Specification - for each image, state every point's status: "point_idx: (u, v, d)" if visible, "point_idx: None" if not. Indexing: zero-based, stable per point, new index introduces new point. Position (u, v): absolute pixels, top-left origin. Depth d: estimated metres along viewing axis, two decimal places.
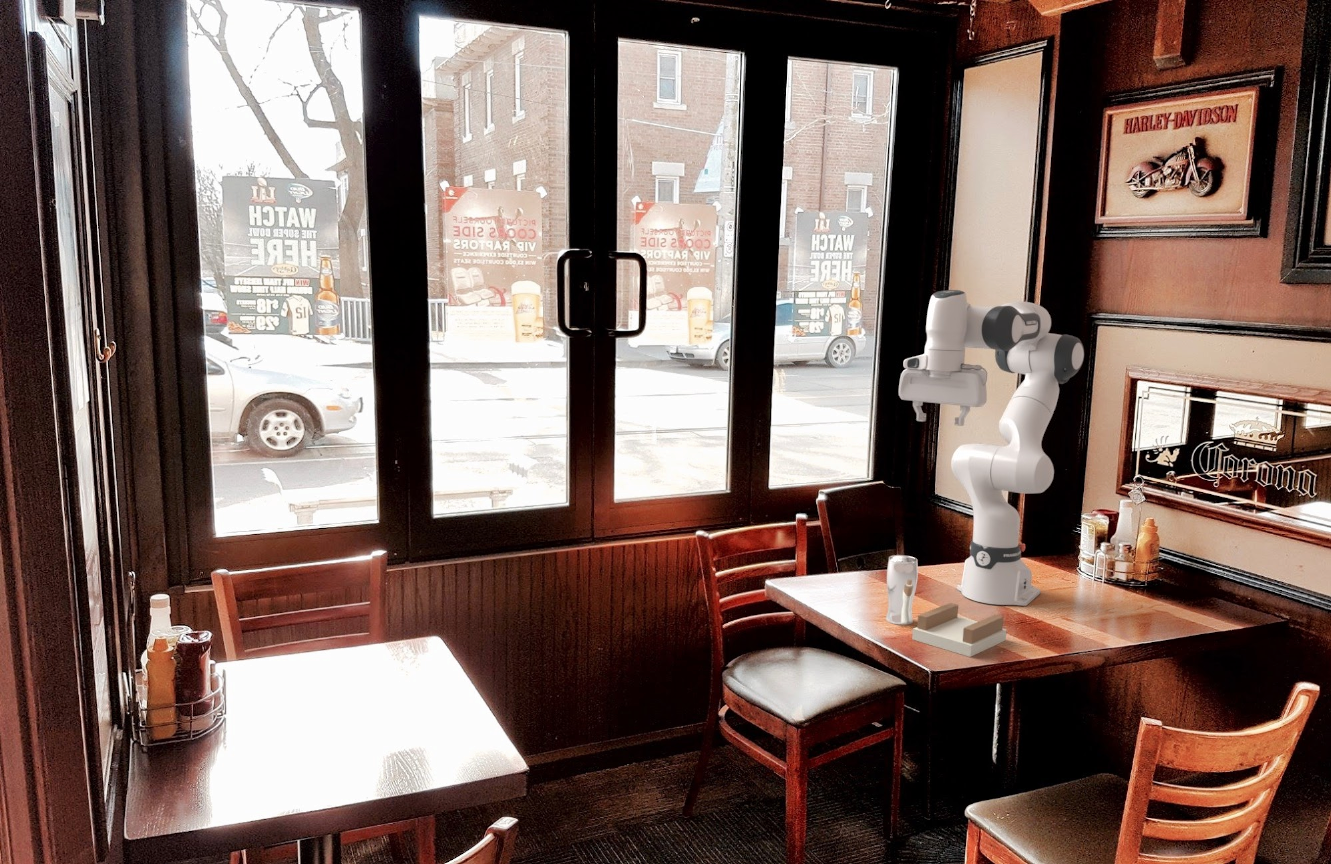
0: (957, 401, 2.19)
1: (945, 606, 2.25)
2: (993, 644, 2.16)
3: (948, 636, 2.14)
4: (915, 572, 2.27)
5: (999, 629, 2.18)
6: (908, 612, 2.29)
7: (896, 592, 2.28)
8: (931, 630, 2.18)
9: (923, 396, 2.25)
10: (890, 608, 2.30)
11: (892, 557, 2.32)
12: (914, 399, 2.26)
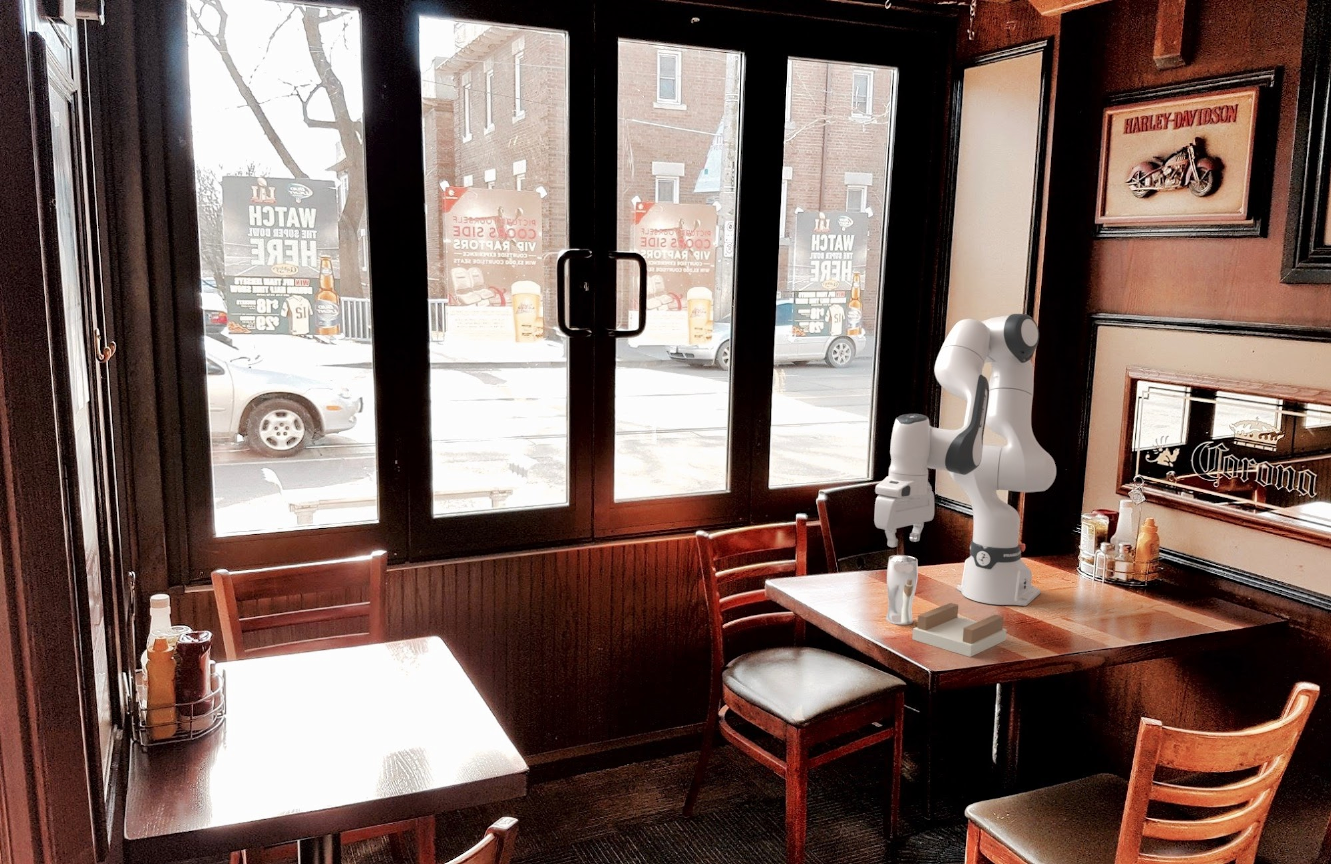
0: (923, 519, 2.30)
1: (945, 606, 2.25)
2: (993, 644, 2.16)
3: (948, 636, 2.14)
4: (915, 572, 2.27)
5: (999, 629, 2.18)
6: (908, 612, 2.29)
7: (896, 592, 2.28)
8: (931, 630, 2.18)
9: (903, 521, 2.24)
10: (890, 608, 2.30)
11: (892, 557, 2.32)
12: (897, 526, 2.23)
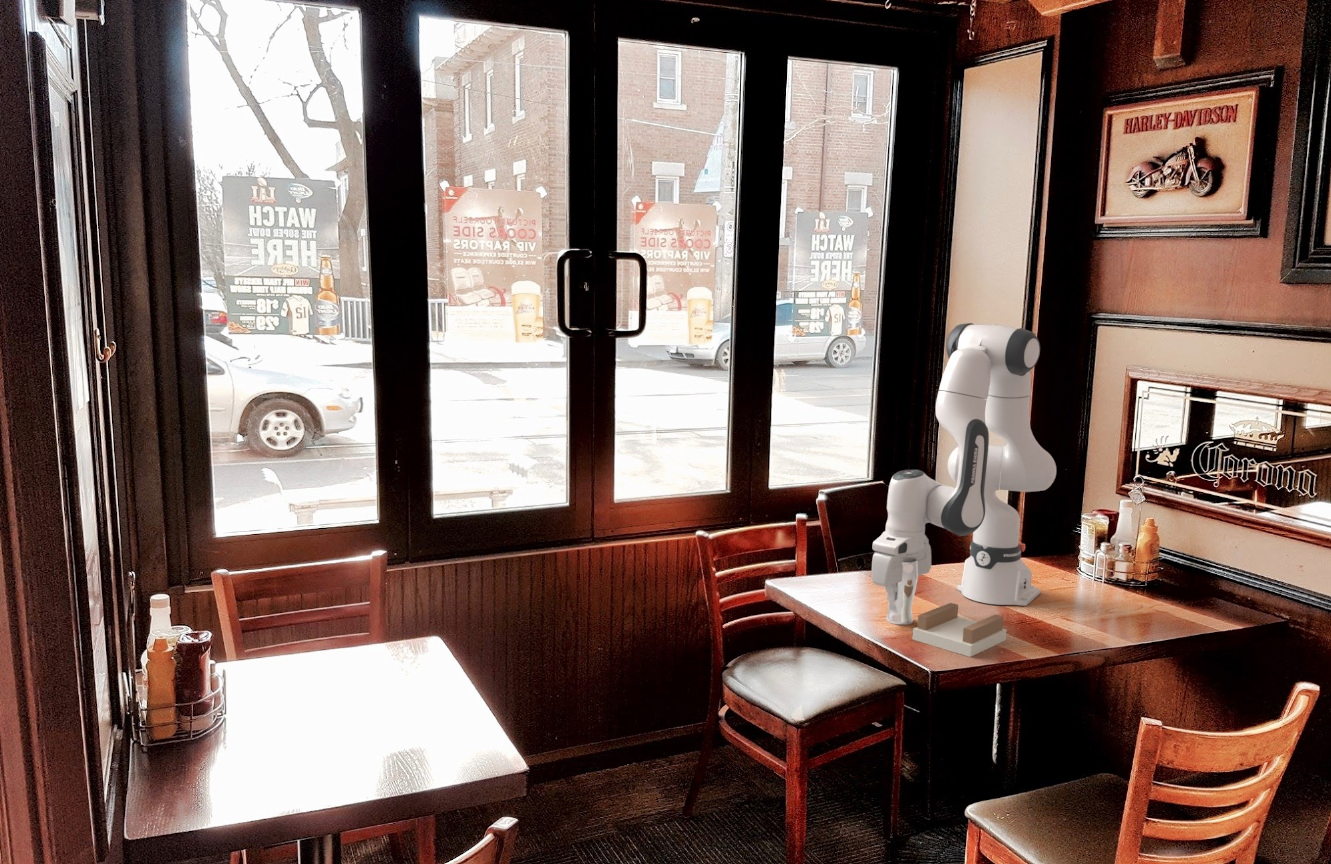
0: (920, 572, 2.32)
1: (945, 606, 2.25)
2: (993, 644, 2.16)
3: (948, 636, 2.14)
4: (915, 572, 2.27)
5: (999, 629, 2.18)
6: (908, 612, 2.29)
7: (896, 592, 2.28)
8: (931, 630, 2.18)
9: (900, 577, 2.26)
10: (890, 608, 2.30)
11: None
12: (894, 583, 2.25)
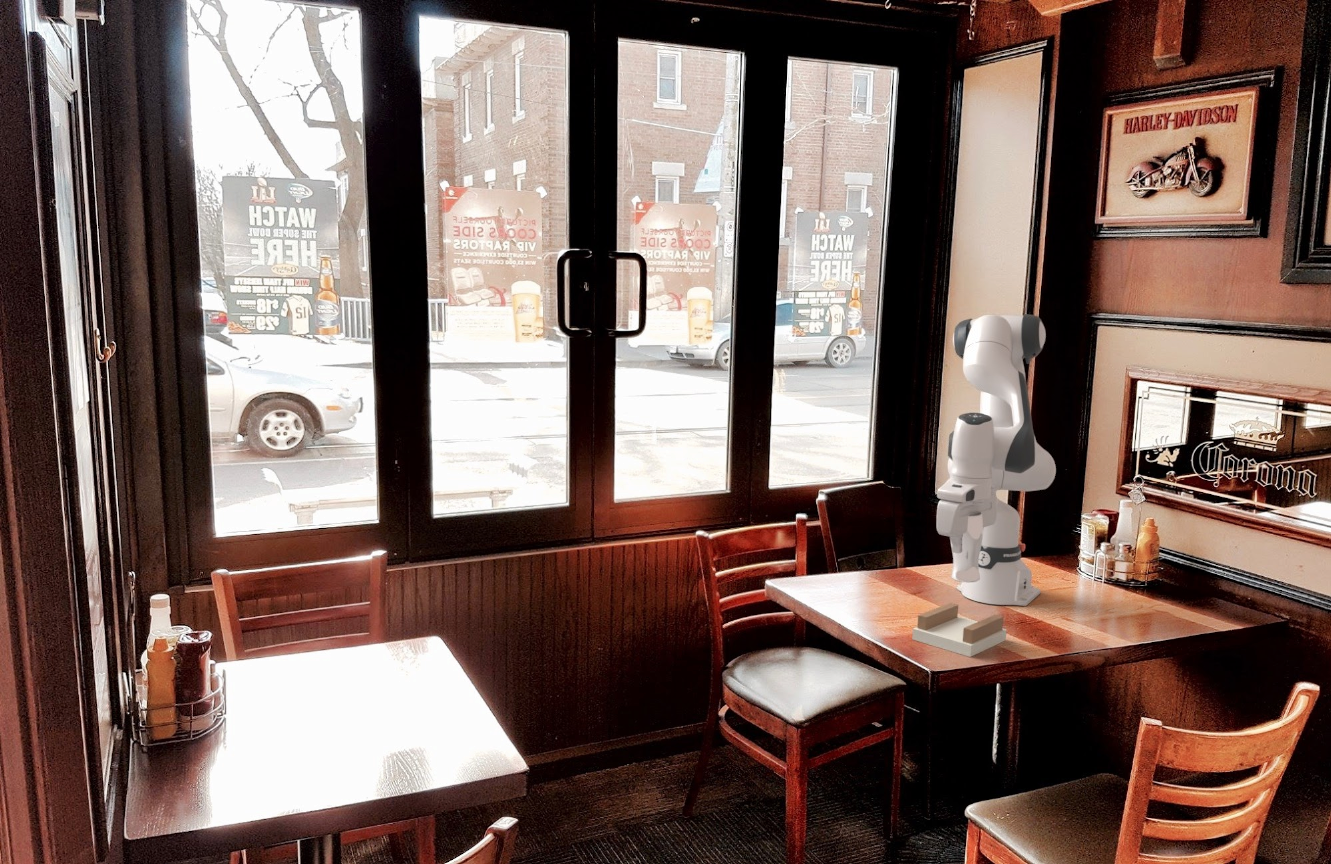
0: (985, 523, 2.18)
1: (945, 606, 2.25)
2: (993, 644, 2.16)
3: (948, 636, 2.14)
4: (980, 526, 2.13)
5: (999, 629, 2.18)
6: (975, 569, 2.15)
7: None
8: (931, 630, 2.18)
9: None
10: (955, 565, 2.16)
11: None
12: (961, 533, 2.11)
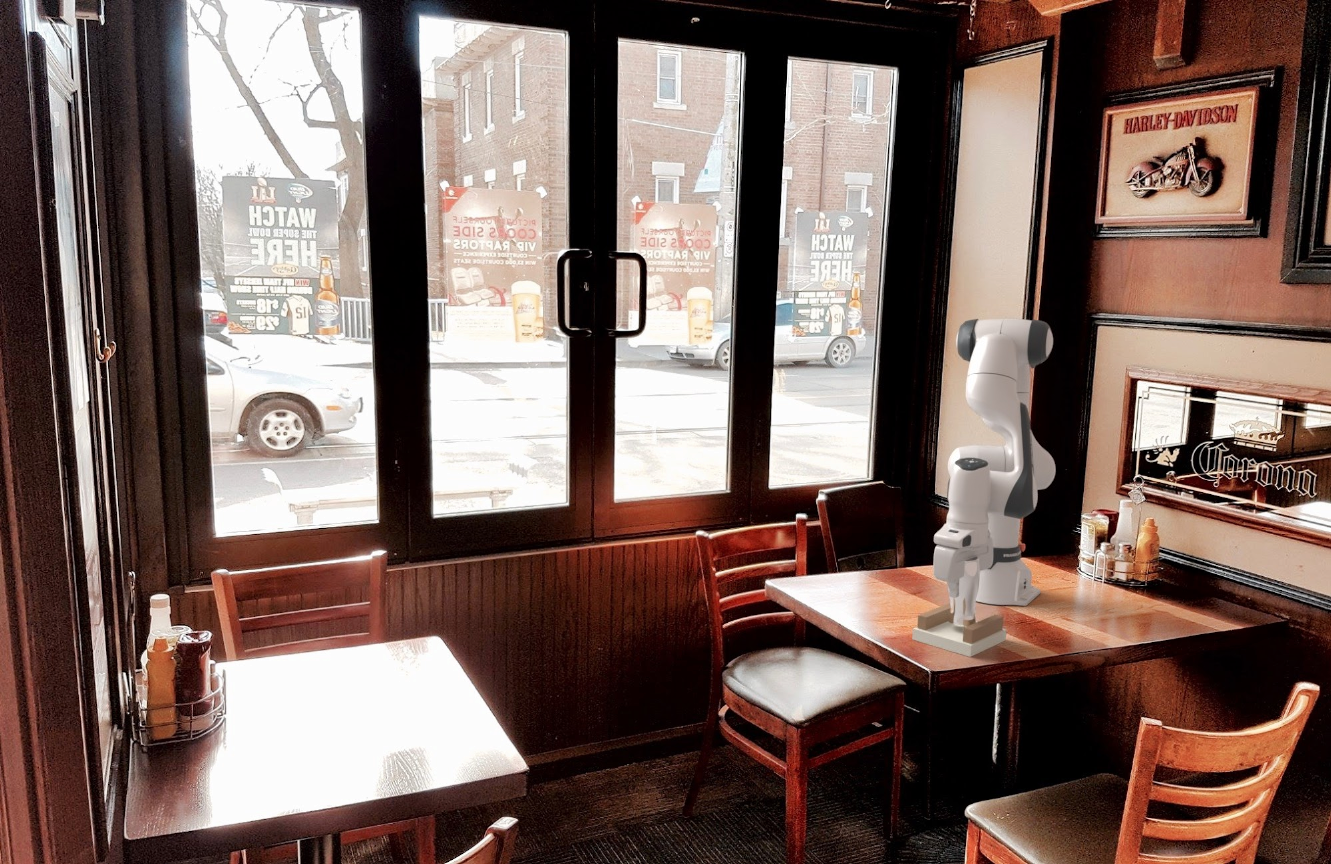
0: (982, 567, 2.19)
1: (945, 606, 2.25)
2: (993, 644, 2.16)
3: (948, 636, 2.14)
4: (977, 570, 2.14)
5: (999, 629, 2.18)
6: (971, 613, 2.16)
7: None
8: (931, 630, 2.18)
9: (963, 572, 2.13)
10: (952, 609, 2.17)
11: None
12: (957, 578, 2.12)
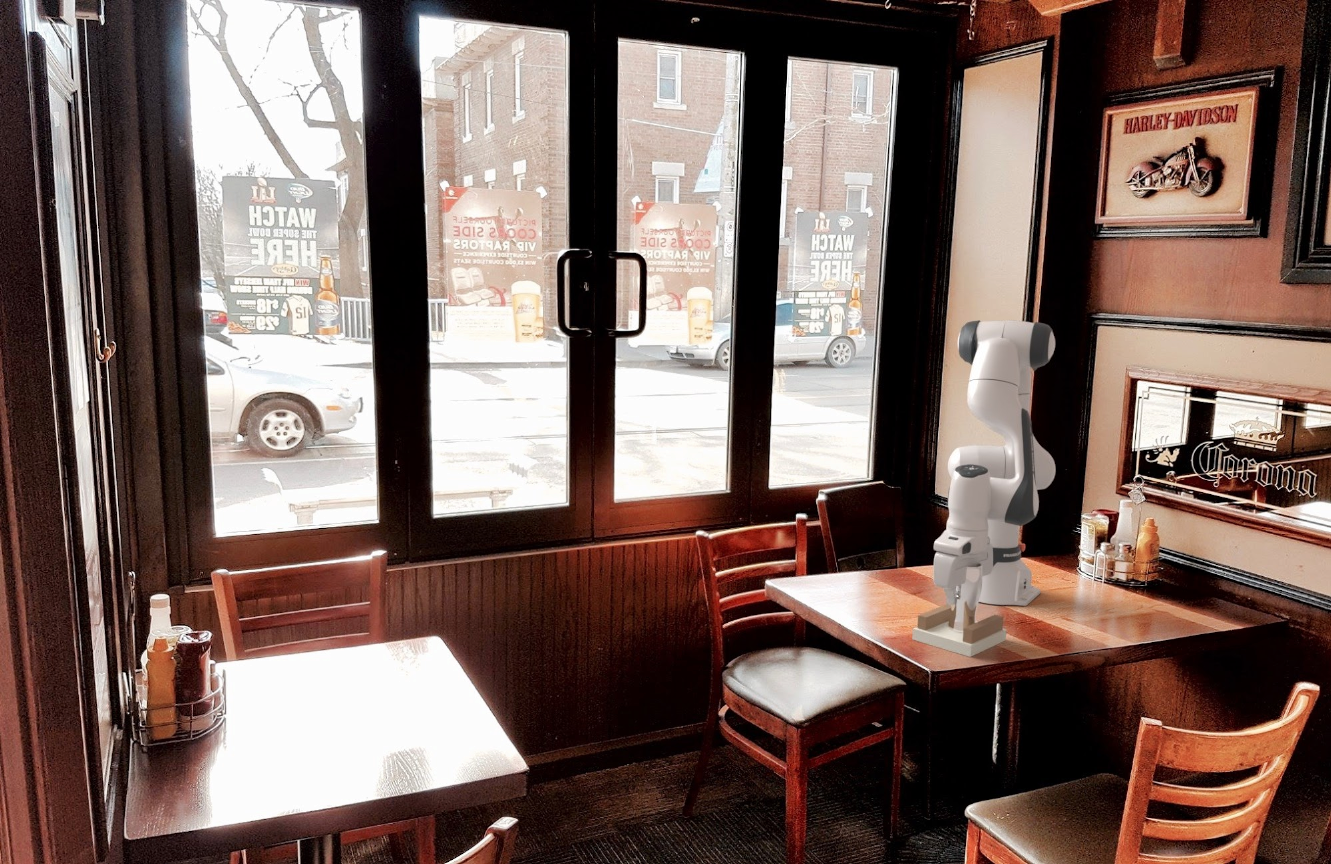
0: (982, 573, 2.19)
1: (945, 606, 2.25)
2: (993, 644, 2.16)
3: (948, 636, 2.14)
4: (980, 577, 2.15)
5: (999, 629, 2.18)
6: (972, 620, 2.17)
7: (959, 598, 2.16)
8: (931, 630, 2.18)
9: (963, 578, 2.14)
10: (953, 615, 2.18)
11: None
12: (957, 585, 2.12)
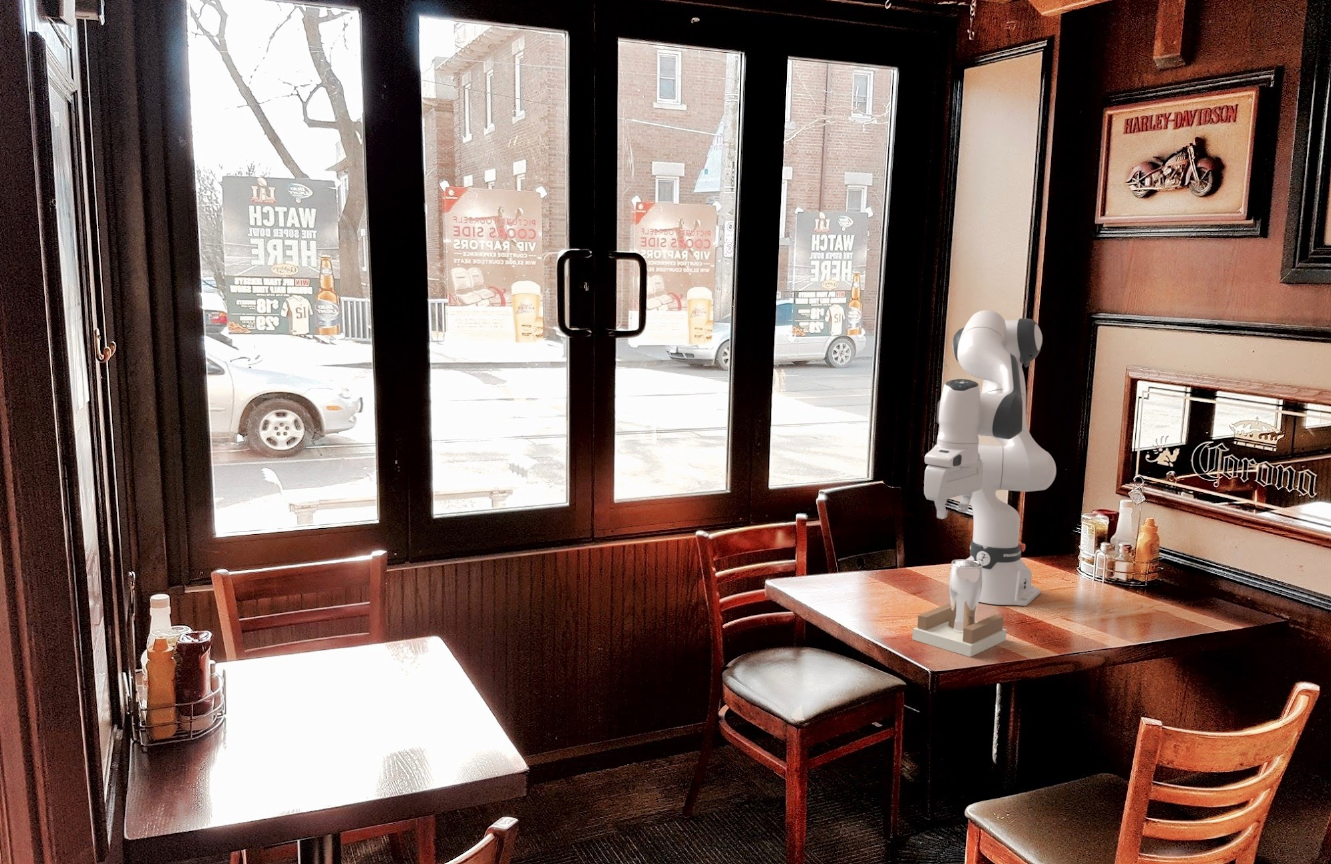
0: (972, 488, 2.21)
1: (945, 606, 2.25)
2: (993, 644, 2.16)
3: (948, 636, 2.14)
4: (980, 577, 2.15)
5: (999, 629, 2.18)
6: (972, 620, 2.17)
7: (959, 598, 2.16)
8: (931, 630, 2.18)
9: (954, 492, 2.15)
10: (953, 615, 2.18)
11: (955, 561, 2.20)
12: (948, 497, 2.13)
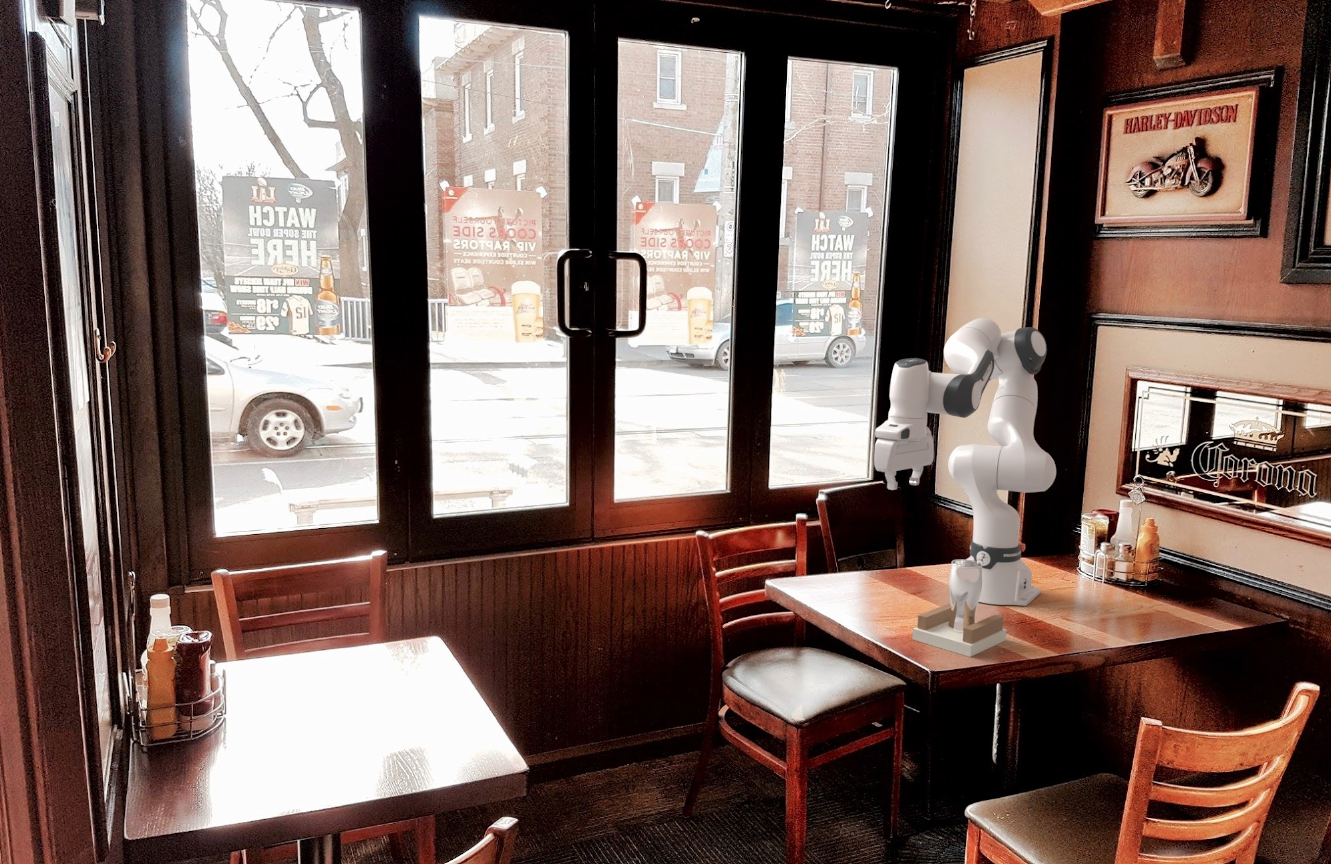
0: (922, 462, 2.33)
1: (945, 606, 2.25)
2: (993, 644, 2.16)
3: (948, 636, 2.14)
4: (980, 577, 2.15)
5: (999, 629, 2.18)
6: (972, 620, 2.17)
7: (959, 598, 2.16)
8: (931, 630, 2.18)
9: (903, 464, 2.27)
10: (953, 615, 2.18)
11: (955, 561, 2.20)
12: (897, 469, 2.25)
